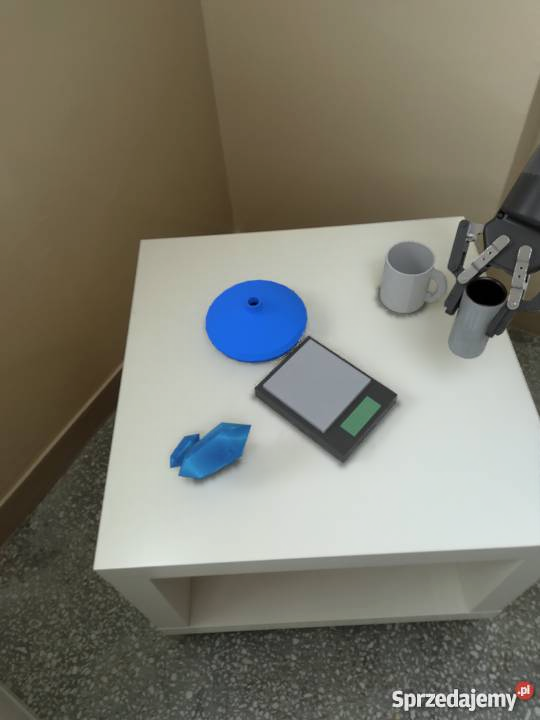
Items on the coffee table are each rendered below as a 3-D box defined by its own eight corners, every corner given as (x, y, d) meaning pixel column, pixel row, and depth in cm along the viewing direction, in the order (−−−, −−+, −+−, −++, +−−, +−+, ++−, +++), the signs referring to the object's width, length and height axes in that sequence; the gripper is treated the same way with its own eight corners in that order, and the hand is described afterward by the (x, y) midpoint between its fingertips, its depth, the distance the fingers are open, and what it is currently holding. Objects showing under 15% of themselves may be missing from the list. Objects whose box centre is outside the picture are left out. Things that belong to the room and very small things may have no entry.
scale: (395, 402, 75) (398, 391, 72) (343, 463, 70) (344, 453, 68) (308, 344, 82) (308, 331, 79) (255, 396, 77) (253, 384, 74)
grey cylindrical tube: (446, 329, 69) (464, 274, 61) (483, 331, 68) (505, 276, 60) (448, 358, 67) (466, 305, 58) (485, 360, 66) (510, 307, 57)
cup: (389, 275, 88) (395, 235, 81) (448, 294, 85) (461, 254, 78) (372, 305, 85) (378, 266, 77) (433, 326, 82) (445, 288, 74)
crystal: (148, 443, 66) (227, 389, 67) (177, 462, 74) (247, 413, 74) (172, 492, 63) (255, 434, 63) (200, 507, 70) (274, 455, 71)
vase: (326, 345, 81) (326, 317, 75) (232, 388, 78) (225, 362, 72) (279, 279, 89) (277, 248, 84) (193, 315, 86) (184, 286, 81)
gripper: (487, 151, 56) (406, 294, 62) (625, 205, 50) (521, 359, 56) (499, 168, 62) (425, 297, 68) (623, 219, 56) (530, 355, 62)
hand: (469, 324), depth 62 cm, fingers closed on grey cylindrical tube, 4 cm apart
